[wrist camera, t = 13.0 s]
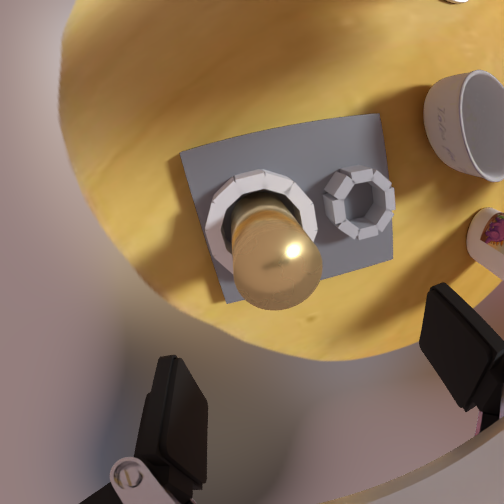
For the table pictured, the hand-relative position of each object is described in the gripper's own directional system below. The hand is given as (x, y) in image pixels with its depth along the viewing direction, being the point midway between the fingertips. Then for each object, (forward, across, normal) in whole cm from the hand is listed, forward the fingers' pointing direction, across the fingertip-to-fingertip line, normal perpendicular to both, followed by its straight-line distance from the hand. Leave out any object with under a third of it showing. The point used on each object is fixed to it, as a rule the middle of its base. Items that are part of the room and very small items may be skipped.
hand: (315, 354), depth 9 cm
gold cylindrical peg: (+17, 0, 0) cm, 17 cm away
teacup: (+19, -24, -4) cm, 30 cm away
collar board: (+18, -4, 0) cm, 19 cm away
